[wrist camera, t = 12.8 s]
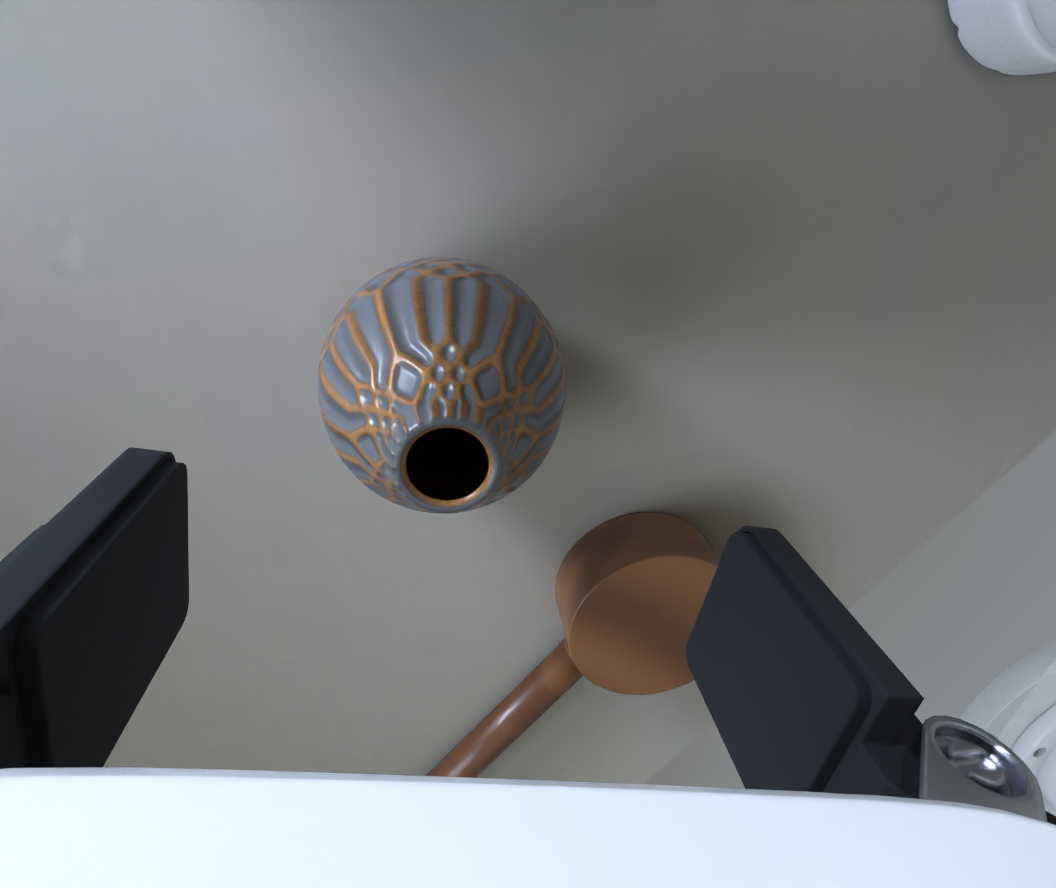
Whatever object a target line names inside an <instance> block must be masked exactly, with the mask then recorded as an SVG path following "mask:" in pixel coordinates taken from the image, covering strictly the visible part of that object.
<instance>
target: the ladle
mask: <svg viewBox="0 0 1056 888" xmlns="http://www.w3.org/2000/svg"><path fill="white" fill-rule="evenodd" d="M719 562H720V559H719V558H718V556H717V555H716V553H715V552H714V550H713V549H712V547H711V546H710V544H709V543H708V541H707V540H706V539H705V537H704V536H703V535H702V534H701V532H700V531H699V530H697V529H696V528H695V527H694V526H693V525H691V524H689V523H688V522H686V521H684V520H682V519H680V518H677V517H674V516H671V515H667V514H661V513H646V512H645V513H634V514H630V515H625V516H621V517H618V518H615V519H612V520H610V521H608V522H605V523H603V524H601V525H600V526H598V527H596V528H594V529H593V530H591V531H590V532H589V533H587V534H586V535H585V536H583V537H582V538H581V539H580V540H579V541H578V542H577V543H576V544H575V545H574V546H573V548H572V549H571V550H570V551H569V553H568V554H567V556H566V557H565V559H564V561H563V563H562V565H561V567H560V569H559V572H558V576H557V580H556V600H557V605H558V609H559V613H560V616H561V620H562V624H563V628H564V632H565V635H566V639H565V640H564V641H563V642H562V643H561V644H560V645H559V646H558V647H557V648H556V649H555V650H554V651H553V652H552V653H551V654H550V655H549V656H548V657H547V658H546V659H545V660H544V661H543V662H542V663H541V664H540V665H539V666H538V667H537V668H536V669H535V670H534V671H533V672H532V673H531V674H530V675H529V676H528V677H527V678H526V679H525V680H524V681H523V682H522V683H520V684H519V685H518V686H517V687H516V688H515V689H514V690H513V691H512V692H511V693H510V694H509V695H508V696H507V697H506V698H505V699H504V700H503V701H502V702H501V703H500V704H499V705H498V706H497V707H496V708H495V709H494V710H493V711H492V712H491V713H490V714H489V715H488V716H487V717H486V718H485V719H484V720H483V721H482V722H481V723H480V724H479V725H478V726H477V727H476V728H475V729H474V730H473V731H472V732H471V733H470V734H469V735H468V736H467V737H466V738H465V739H464V740H463V741H461V742H460V743H459V744H458V745H457V746H456V747H455V748H454V749H453V750H452V751H451V752H450V753H449V754H448V755H447V756H446V757H445V758H444V759H443V760H442V761H441V762H440V763H439V764H438V765H437V766H436V767H435V768H434V769H433V770H432V771H431V772H430V773H429V774H428V775H427V776H440V777H467V778H475V777H477V776H478V775H479V774H480V773H481V772H482V771H483V770H484V769H485V768H486V767H487V766H488V765H489V764H490V763H491V762H492V761H493V760H494V759H495V758H497V757H498V756H499V755H500V754H501V753H502V752H503V751H504V750H505V749H506V748H507V747H508V746H509V745H510V744H511V743H512V742H513V741H514V740H515V739H517V738H518V737H519V736H520V735H521V734H522V733H523V732H524V731H525V730H526V729H527V728H528V727H529V726H530V725H531V724H532V723H533V722H534V721H535V720H537V719H538V718H539V717H540V716H541V715H542V714H543V713H544V712H545V711H546V710H547V709H548V708H549V707H550V706H551V705H552V704H553V703H554V702H555V701H557V700H558V699H559V698H560V697H561V696H562V695H563V694H564V693H565V692H566V691H567V690H568V689H569V688H570V687H571V686H572V685H573V684H574V683H576V682H577V681H578V680H579V679H580V678H581V677H582V676H583V675H584V676H585V677H586V678H587V679H589V680H590V681H591V682H593V683H594V684H596V685H598V686H600V687H602V688H604V689H607V690H610V691H613V692H617V693H622V694H632V695H645V694H654V693H659V692H664V691H668V690H671V689H674V688H677V687H680V686H682V685H685V684H687V683H689V682H691V681H693V680H695V679H694V677H693V675H692V672H691V670H690V668H689V666H688V663H687V660H686V646H687V642H688V640H689V637H690V635H691V632H692V630H693V627H694V625H695V622H696V620H697V617H698V615H699V612H700V610H701V607H702V605H703V602H704V600H705V597H706V595H707V592H708V590H709V587H710V585H711V582H712V580H713V577H714V575H715V572H716V570H717V567H718V565H719Z"/></svg>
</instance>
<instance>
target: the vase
mask: <svg viewBox="0 0 1056 888" xmlns="http://www.w3.org/2000/svg"><path fill="white" fill-rule="evenodd" d="M565 390H566V383H565V371H564V364H563V359H562V354H561V351H560V348H559V345H558V342H557V340H556V337H555V335H554V333H553V331H552V329H551V327H550V325H549V323H548V321H547V319H546V318H545V316H544V315H543V313H542V312H541V311H540V309H539V308H538V307H537V305H536V304H535V303H534V302H533V301H532V299H531V298H530V297H529V296H528V295H527V294H526V293H525V292H524V291H523V290H522V289H520V288H519V287H518V286H517V285H516V284H514V283H513V282H512V281H510V280H509V279H508V278H506V277H505V276H503V275H501V274H500V273H498V272H496V271H494V270H492V269H490V268H488V267H485V266H483V265H480V264H477V263H474V262H471V261H466V260H462V259H455V258H425V259H419V260H413V261H410V262H406V263H403V264H400V265H397V266H395V267H392V268H390V269H388V270H386V271H384V272H383V273H381V274H379V275H377V276H376V277H374V278H373V279H372V280H370V281H369V282H368V283H366V284H365V285H364V286H363V287H362V288H360V289H359V290H358V291H357V292H356V293H355V294H354V295H353V296H352V297H351V298H350V300H349V301H348V302H347V303H346V305H345V306H344V307H343V309H342V310H341V311H340V313H339V314H338V316H337V317H336V319H335V321H334V322H333V324H332V327H331V329H330V331H329V333H328V336H327V338H326V341H325V343H324V346H323V350H322V353H321V358H320V363H319V373H318V394H319V402H320V408H321V413H322V417H323V421H324V424H325V427H326V430H327V432H328V435H329V437H330V440H331V442H332V444H333V446H334V447H335V449H336V451H337V453H338V454H339V456H340V458H341V459H342V461H343V462H344V463H345V465H346V466H347V467H348V468H349V470H350V471H351V472H352V473H353V474H354V475H355V476H356V477H357V478H358V479H359V480H360V481H361V482H362V483H363V484H364V485H366V486H367V487H368V488H369V489H371V490H372V491H374V492H375V493H376V494H378V495H380V496H381V497H383V498H385V499H387V500H389V501H391V502H393V503H396V504H398V505H401V506H404V507H407V508H410V509H413V510H417V511H422V512H429V513H458V512H465V511H470V510H474V509H477V508H481V507H484V506H486V505H489V504H491V503H493V502H496V501H498V500H499V499H501V498H503V497H505V496H507V495H508V494H510V493H511V492H513V491H514V490H516V489H517V488H518V487H520V486H521V485H522V484H523V483H524V482H525V481H526V480H527V479H528V478H529V477H530V476H531V475H532V474H533V473H534V472H535V471H536V470H537V468H538V467H539V466H540V464H541V463H542V462H543V460H544V459H545V457H546V456H547V454H548V452H549V450H550V449H551V446H552V444H553V442H554V440H555V438H556V435H557V432H558V430H559V426H560V423H561V419H562V415H563V410H564V402H565Z"/></svg>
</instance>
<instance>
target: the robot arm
mask: <svg viewBox="0 0 1056 888" xmlns="http://www.w3.org/2000/svg"><path fill="white" fill-rule="evenodd" d="M188 605H189V569H188V492H187V468H186V465H185V464H184V463H178V462H176V461H175V457H174V455H173V454H172V453H171V452H164V451H156V450H148V449H140V448H128V449H127V450H125V451H124V452H123V453H122V454H121V455H120V456H119V457H118V458H117V459H116V460H115V461H114V462H113V463H111V464H110V465H109V466H108V467H107V468H106V469H105V470H104V471H103V472H102V473H101V474H100V475H99V476H97V477H96V478H95V479H94V480H93V481H92V482H91V483H90V484H89V485H88V486H87V487H86V488H85V489H83V490H82V491H81V492H80V493H79V494H78V495H77V496H76V497H75V498H74V499H73V500H72V501H71V502H69V503H68V504H67V505H66V506H65V507H64V508H63V509H62V510H61V511H60V512H59V513H58V514H57V515H55V516H54V517H53V518H52V519H51V520H50V521H49V522H48V523H47V524H46V525H42V526H41V527H39V528H38V529H36V530H35V531H33V532H32V533H31V534H30V535H29V536H28V537H27V538H26V539H25V540H24V541H22V542H21V543H20V544H19V545H18V546H17V547H16V548H15V549H14V550H13V551H12V552H10V553H9V554H8V555H7V556H6V557H5V558H4V559H3V560H2V561H1V562H0V888H1056V704H1054V705H1053V706H1051V707H1050V708H1049V709H1048V710H1046V711H1045V712H1044V713H1042V714H1041V715H1040V716H1039V717H1038V718H1036V719H1035V720H1034V721H1033V722H1032V723H1031V724H1030V725H1029V726H1028V727H1027V728H1026V729H1025V730H1024V732H1023V733H1022V734H1021V735H1020V737H1019V738H1018V739H1017V740H1016V741H1015V743H1014V745H1013V746H1012V748H1011V749H1010V748H1009V747H1007V746H1006V745H1005V744H1003V743H1002V742H1001V741H999V740H998V739H997V738H996V737H994V736H992V735H991V734H989V733H987V732H986V731H984V730H982V729H981V728H979V727H977V726H975V725H972V724H970V723H968V722H965V721H963V720H961V719H957V718H953V717H949V716H932V717H930V718H929V719H926V720H925V722H924V723H923V724H922V723H921V722H920V721H919V720H918V718H917V717H916V716H915V715H914V713H915V712H916V710H917V709H918V707H919V705H920V704H921V702H922V701H923V699H924V698H923V697H922V696H921V695H920V693H919V692H918V691H917V690H916V689H915V688H914V686H913V685H912V684H911V683H910V682H909V681H908V680H907V678H906V677H905V676H904V675H903V674H902V673H901V672H900V670H899V669H898V668H897V667H896V666H895V665H894V663H893V662H892V661H891V660H890V659H889V658H888V656H887V655H886V654H885V653H884V652H883V651H882V649H881V648H880V647H879V646H878V645H877V644H876V643H875V641H874V640H873V639H872V638H871V637H870V636H869V635H868V633H867V632H866V631H865V630H864V629H863V627H862V626H861V625H860V624H859V623H858V622H857V621H856V619H855V618H854V617H853V616H852V615H851V614H850V612H849V611H848V610H847V609H846V608H845V607H844V606H843V604H842V603H841V602H840V601H839V600H838V599H837V597H836V596H835V595H834V594H833V593H832V592H831V591H830V589H829V588H828V587H827V586H826V585H825V584H824V582H823V581H822V580H821V579H820V578H819V577H818V576H817V574H816V573H815V572H814V571H813V570H812V569H811V567H810V566H809V565H808V564H807V563H806V562H805V561H804V559H803V558H802V557H801V556H800V555H799V554H798V552H797V551H796V550H795V549H794V548H793V547H792V546H791V544H790V543H789V542H788V541H787V540H786V539H785V537H784V536H783V535H782V534H781V533H780V532H779V531H778V530H776V529H769V528H761V527H753V526H744V527H742V528H741V529H740V530H739V532H735V533H733V534H732V535H731V536H730V538H729V540H728V542H727V545H726V547H725V550H724V552H723V555H722V557H721V560H720V562H719V565H718V567H717V570H716V572H715V575H714V577H713V580H712V582H711V585H710V587H709V590H708V592H707V595H706V597H705V600H704V602H703V605H702V607H701V610H700V612H699V615H698V617H697V620H696V622H695V625H694V627H693V630H692V632H691V635H690V637H689V640H688V642H687V646H686V660H687V663H688V666H689V668H690V670H691V672H692V675H693V677H694V679H695V681H696V683H697V685H698V688H699V690H700V692H701V694H702V696H703V698H704V700H705V703H706V705H707V707H708V709H709V711H710V713H711V716H712V718H713V720H714V722H715V724H716V726H717V728H718V731H719V733H720V735H721V737H722V739H723V741H724V743H725V746H726V748H727V750H728V752H729V754H730V756H731V758H732V761H733V763H734V765H735V767H736V769H737V771H738V774H739V776H740V778H741V780H742V782H743V784H744V786H745V789H738V788H716V787H693V786H670V785H648V784H623V783H598V782H572V781H547V780H520V779H493V778H467V777H440V776H410V775H379V774H348V773H317V772H287V771H256V770H221V769H178V768H113V767H103V766H104V764H105V762H106V760H107V758H108V757H109V755H110V753H111V751H112V749H113V748H114V746H115V744H116V742H117V741H118V739H119V737H120V735H121V733H122V732H123V730H124V728H125V726H126V725H127V723H128V721H129V719H130V717H131V716H132V714H133V712H134V710H135V709H136V707H137V705H138V703H139V701H140V700H141V698H142V696H143V694H144V693H145V691H146V689H147V687H148V685H149V684H150V682H151V680H152V678H153V676H154V675H155V673H156V671H157V669H158V668H159V666H160V664H161V662H162V660H163V659H164V657H165V655H166V653H167V652H168V650H169V648H170V646H171V644H172V643H173V641H174V639H175V637H176V636H177V634H178V632H179V630H180V628H181V627H182V625H183V623H184V620H185V617H186V614H187V610H188Z"/></svg>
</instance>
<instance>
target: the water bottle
mask: <svg viewBox="0 0 1056 888" xmlns="http://www.w3.org/2000/svg"><path fill="white" fill-rule="evenodd" d="M948 7H949V13H950V16H951V19H952V21H953V23H954V24H955V25H956V26H957V27H958V28H959V30H958V37H959V40H960V42H961V44H962V45H963V47H964V48H965V49H966V51H967V52H968V53H969V54H970V55H971V56H972V57H973V58H974V59H975V60H976V61H977V62H979V63H980V64H982V65H983V66H985V67H988V68H990V69H994V70H998V71H999V72H1001V73H1004V74H1010V75H1033V74H1042V73H1051V72H1056V0H948Z"/></svg>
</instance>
